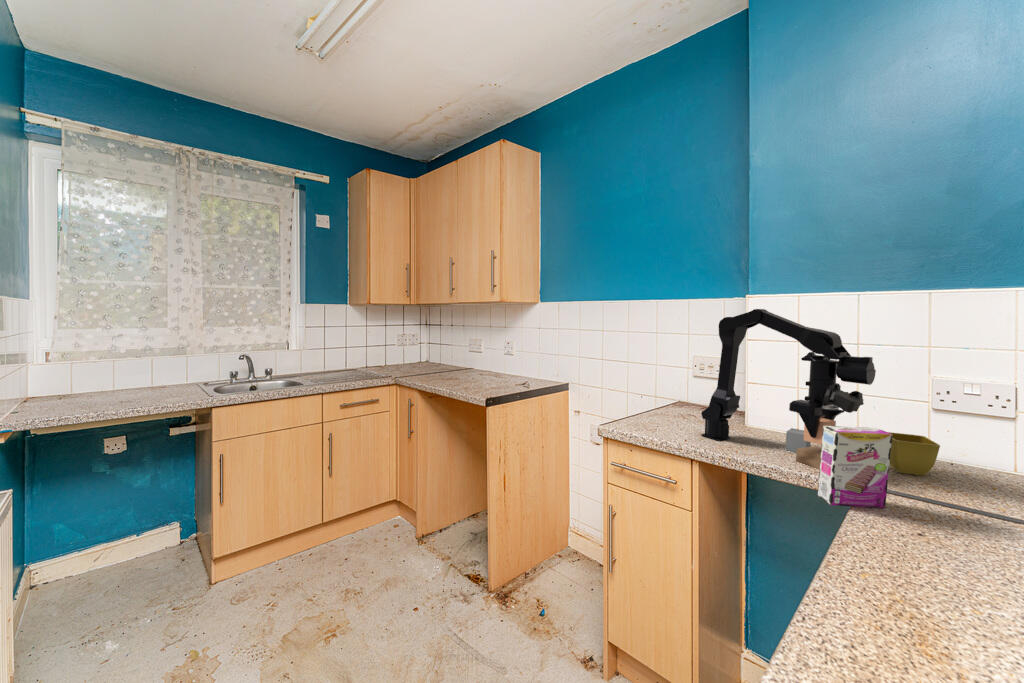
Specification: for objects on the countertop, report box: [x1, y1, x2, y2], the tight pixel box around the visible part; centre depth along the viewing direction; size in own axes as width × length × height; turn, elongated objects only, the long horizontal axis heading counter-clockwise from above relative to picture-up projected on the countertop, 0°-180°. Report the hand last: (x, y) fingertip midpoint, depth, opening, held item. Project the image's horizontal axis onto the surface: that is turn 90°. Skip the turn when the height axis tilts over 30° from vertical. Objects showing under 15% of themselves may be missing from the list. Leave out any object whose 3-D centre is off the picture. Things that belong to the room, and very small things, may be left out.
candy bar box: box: [817, 426, 892, 509], centre depth 91 cm, size 11×5×16 cm, turn 84°
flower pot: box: [887, 431, 941, 477], centre depth 109 cm, size 9×9×9 cm
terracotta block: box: [803, 418, 837, 446], centre depth 113 cm, size 5×5×6 cm
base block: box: [795, 445, 821, 471], centre depth 113 cm, size 7×7×4 cm
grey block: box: [785, 428, 812, 454], centre depth 124 cm, size 5×5×6 cm
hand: (818, 436), depth 113 cm, fingers closed on terracotta block, 5 cm apart
